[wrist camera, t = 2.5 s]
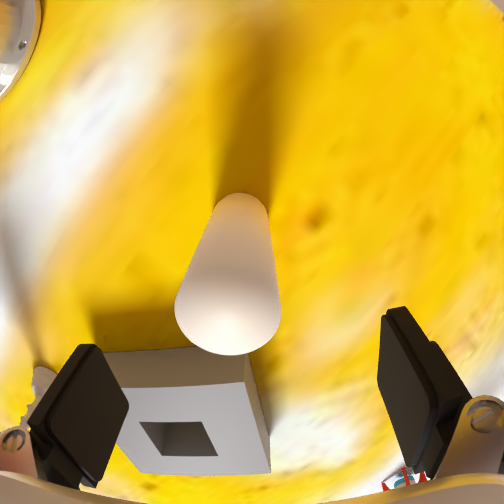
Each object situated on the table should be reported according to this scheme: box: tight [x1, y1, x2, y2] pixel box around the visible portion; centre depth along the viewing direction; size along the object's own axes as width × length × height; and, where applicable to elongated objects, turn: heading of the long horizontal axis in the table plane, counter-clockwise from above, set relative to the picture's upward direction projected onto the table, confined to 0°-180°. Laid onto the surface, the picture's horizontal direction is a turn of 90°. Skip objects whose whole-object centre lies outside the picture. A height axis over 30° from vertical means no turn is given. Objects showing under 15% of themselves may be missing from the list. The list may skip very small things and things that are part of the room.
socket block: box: [103, 346, 271, 476], centre depth 28 cm, size 15×15×5 cm
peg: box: [174, 193, 281, 355], centre depth 17 cm, size 4×4×12 cm
